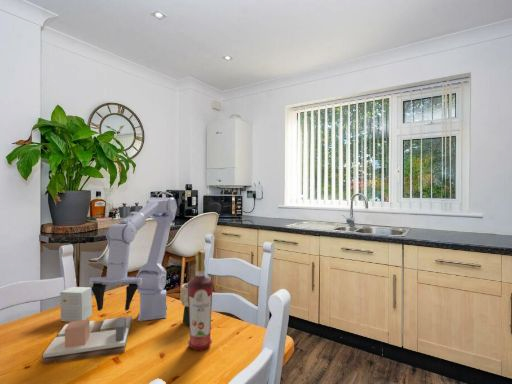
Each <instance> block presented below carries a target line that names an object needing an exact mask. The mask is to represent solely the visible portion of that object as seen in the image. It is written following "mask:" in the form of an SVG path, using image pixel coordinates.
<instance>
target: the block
mask: <svg viewBox="0 0 512 384" xmlns="http://www.w3.org/2000/svg"><path fill="white" fill-rule="evenodd" d="M90 321H91V320H90V319H86V320H81V321H72V322H69V323H67V324H68V326H67V327H66V329H65V347H72V346H79V345H85V344H86V342H87V340H88V338H89V336H90Z"/></svg>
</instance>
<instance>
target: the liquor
mask: <svg viewBox="0 0 512 384" xmlns="http://www.w3.org/2000/svg"><path fill="white" fill-rule="evenodd" d="M205 255H206V253H205V250H196V251H195V272H194V273H195V275H194V278H191V279H190V280H189V281H188V282H187V285H188V306H189V324H188V327H189V340H188V345H189V347H191V348H192V349H193V350H196V351H204V350H206V349H207V348H208V347H209V346H210V345H211V344H212V343H213V339H212V338H211V329H212V328H211V326H212V324H211V322H212V306H213V305H212V304H213V283H214V281H213V280H212V279H210V278H209V277H206V268H205V259H206V257H205Z"/></svg>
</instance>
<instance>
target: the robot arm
mask: <svg viewBox="0 0 512 384" xmlns="http://www.w3.org/2000/svg"><path fill="white" fill-rule="evenodd" d="M177 210H178V206H177V201H176V199H175V198H174V197H155V196H151V197H149V198H148V199H147V201H146V204H145V205H144V206H143V207H142V208H141V209H139V211H131V212H130V213H129V215H128V216H126V217H125V218H123V219H121V221H119V222H118V223H113V224H111V225H110V226H108V228H107V232H105V238H106V240H107V247H108V248H109V249H108V256H107V269H106V276H98V277H97V276H96V277H90V278H89V286H91V292H92V293H93V296H94V298H95V302H96V308H97V312H98V311H99V312H100V311H102V310H103V308H104V297H105V296H104V295H105V291H106V287H107V285H108V286H109V285H110V286H111V285H112V286H114V285H115V286H117V285H118V286H123V285H126V287H125V290H126V291H125V292H126V293H125V295H126V296H125V298H126V299H125V306H124V311H129V310H130V307H131V303H132V301H133V297H134V296H135V293H136V291H137V293H139V312H138V318H137V321H138V322H142V321H151V320H158V319H167V310H168V304H167V290H166V289H165V286H166V283H167V270H166V268H164V266H162V262H163V260H164V259H163V258H164V255H165V251H166V247H167V243H168V238H169V234H170V231H171V226H172V222H173V221H175V217H176V214H177ZM150 217H151V218H152V220H153V221H155V222H156V227H155V231H154V235H153V238H152V242H151V246H150V249H149V250H150V251H149V254H148V258H147V262H146V263H145V264H143V265H142V266H141V267H139V269H138V272H137V274H136V275H135V277H133V276H128V271H129V262H130V261H129V260H130V258H129V257H130V250H131V243H132V242H133V241H134V239H135V238H136V234H137V233H138V232H139V230H140V229H142V228H143V226H145V225H146V220H147V219H149V218H150Z"/></svg>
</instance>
